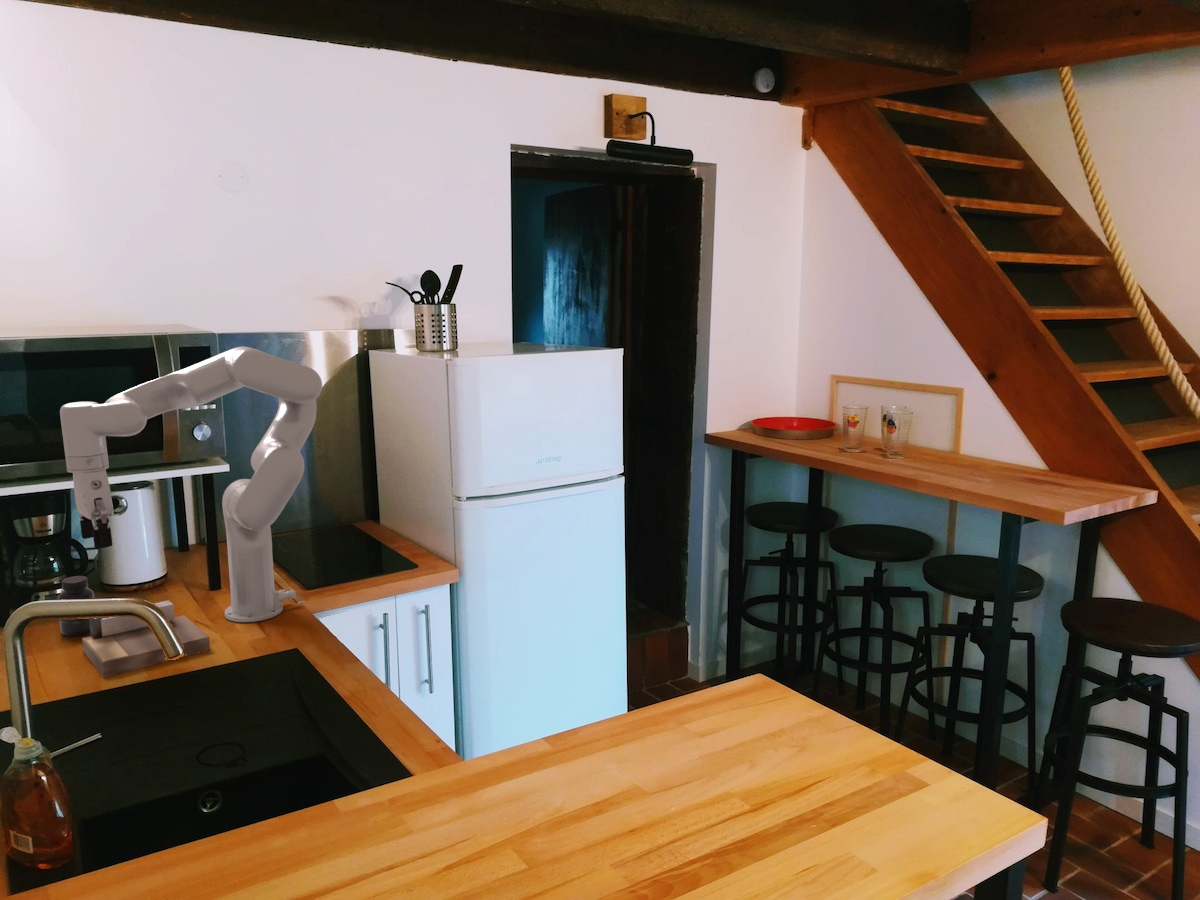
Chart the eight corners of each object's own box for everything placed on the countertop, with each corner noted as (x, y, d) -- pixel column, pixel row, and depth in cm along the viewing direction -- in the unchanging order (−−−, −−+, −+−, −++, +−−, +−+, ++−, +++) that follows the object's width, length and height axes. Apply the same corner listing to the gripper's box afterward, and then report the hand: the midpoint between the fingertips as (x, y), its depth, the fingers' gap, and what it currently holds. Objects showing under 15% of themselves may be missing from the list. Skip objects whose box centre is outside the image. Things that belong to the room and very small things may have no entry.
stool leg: (93, 639, 180) (91, 621, 180) (89, 635, 183) (87, 616, 182) (174, 620, 191) (173, 603, 190) (169, 616, 193) (168, 599, 192)
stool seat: (185, 627, 196) (183, 614, 196) (210, 650, 184) (208, 635, 184) (83, 652, 183) (82, 637, 182) (103, 677, 171) (102, 662, 171)
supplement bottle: (64, 640, 189) (58, 586, 187) (58, 630, 194) (52, 578, 192) (100, 632, 193) (94, 580, 191) (93, 623, 198) (88, 572, 196)
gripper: (119, 466, 177) (129, 547, 181) (96, 453, 190) (105, 530, 193) (77, 471, 172) (88, 555, 176) (56, 458, 185) (66, 537, 188)
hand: (97, 542), depth 184 cm, fingers open, 9 cm apart
